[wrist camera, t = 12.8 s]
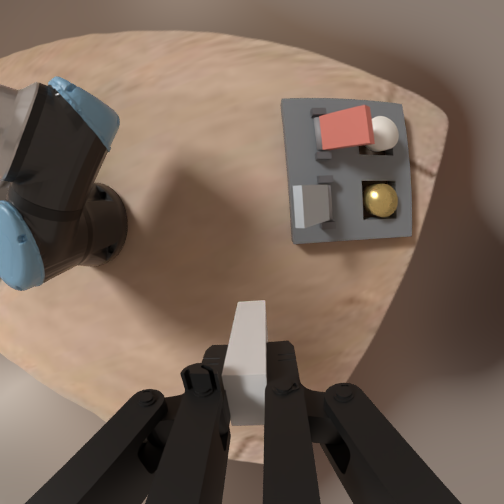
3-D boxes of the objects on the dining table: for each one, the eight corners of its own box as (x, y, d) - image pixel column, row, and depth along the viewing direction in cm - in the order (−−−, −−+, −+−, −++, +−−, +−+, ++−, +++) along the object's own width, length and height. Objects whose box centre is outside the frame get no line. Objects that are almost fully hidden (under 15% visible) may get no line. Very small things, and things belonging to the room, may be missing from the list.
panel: (291, 240, 44) (295, 246, 39) (280, 104, 39) (282, 94, 34) (403, 233, 43) (417, 238, 38) (394, 108, 38) (407, 101, 33)
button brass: (361, 215, 41) (369, 217, 38) (360, 184, 40) (368, 183, 37) (388, 214, 41) (398, 216, 38) (387, 183, 40) (397, 183, 37)
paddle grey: (324, 218, 40) (294, 227, 33) (322, 184, 39) (291, 186, 32) (334, 218, 39) (306, 228, 32) (332, 184, 38) (303, 185, 31)
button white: (362, 151, 37) (370, 148, 34) (358, 120, 36) (366, 114, 33) (390, 152, 37) (400, 149, 34) (386, 122, 36) (396, 117, 32)
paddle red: (314, 150, 37) (368, 142, 29) (311, 118, 36) (363, 104, 28) (322, 151, 38) (375, 144, 30) (318, 119, 37) (370, 107, 29)
